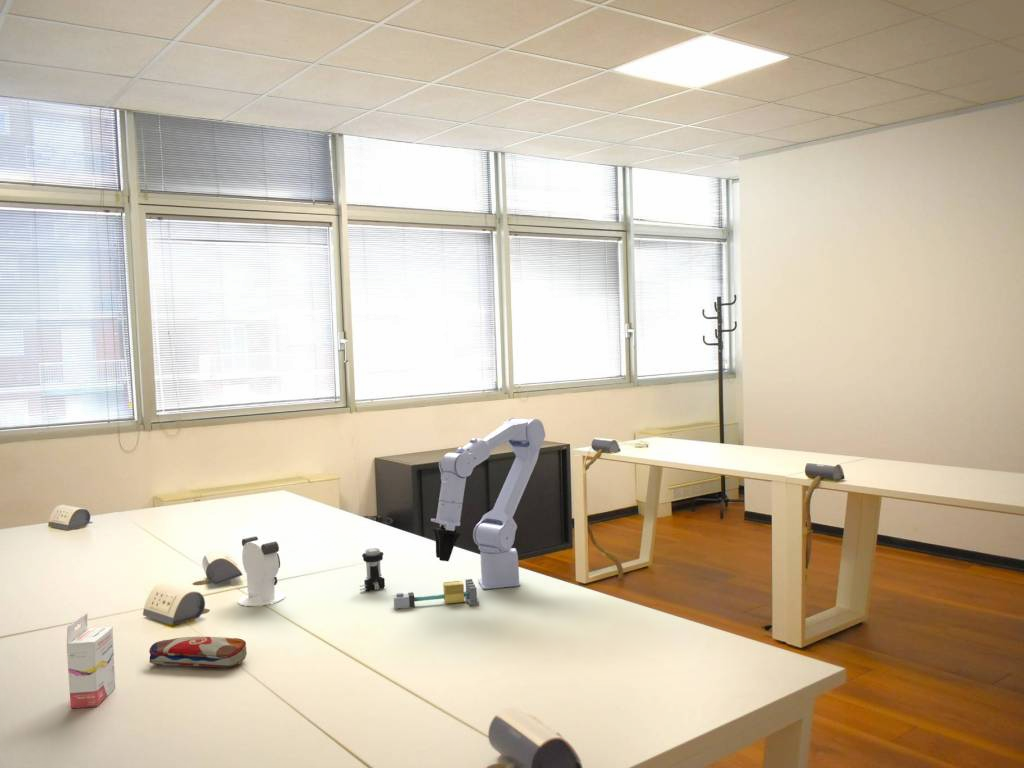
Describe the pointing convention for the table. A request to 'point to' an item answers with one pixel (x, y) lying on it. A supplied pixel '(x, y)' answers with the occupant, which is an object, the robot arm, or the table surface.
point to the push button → (373, 570)
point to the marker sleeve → (453, 592)
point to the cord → (433, 597)
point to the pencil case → (198, 652)
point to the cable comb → (471, 592)
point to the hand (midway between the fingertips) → (442, 559)
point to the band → (411, 599)
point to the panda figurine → (260, 571)
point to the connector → (401, 601)
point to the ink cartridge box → (89, 663)
